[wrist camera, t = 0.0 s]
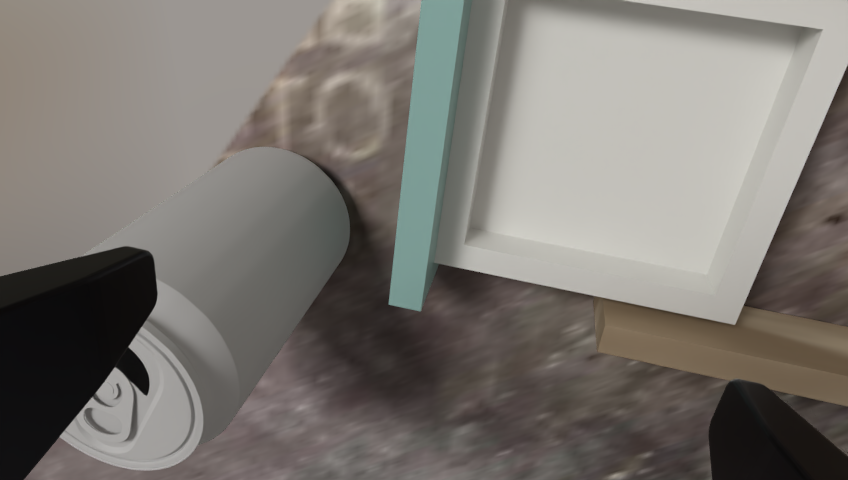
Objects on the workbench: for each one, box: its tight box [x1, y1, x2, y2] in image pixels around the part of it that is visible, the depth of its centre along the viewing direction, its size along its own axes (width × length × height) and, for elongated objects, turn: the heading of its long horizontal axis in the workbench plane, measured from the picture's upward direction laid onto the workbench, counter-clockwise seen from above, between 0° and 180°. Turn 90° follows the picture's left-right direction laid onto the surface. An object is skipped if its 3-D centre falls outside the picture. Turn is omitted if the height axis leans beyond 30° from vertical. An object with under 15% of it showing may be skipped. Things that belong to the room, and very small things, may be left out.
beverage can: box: [60, 147, 350, 470], centre depth 21 cm, size 6×6×12 cm
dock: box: [593, 296, 848, 406], centre depth 20 cm, size 14×12×4 cm
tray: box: [389, 0, 848, 325], centre depth 20 cm, size 13×12×4 cm
